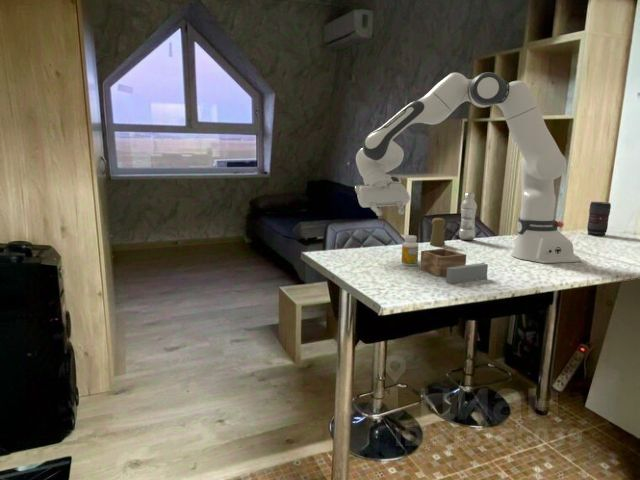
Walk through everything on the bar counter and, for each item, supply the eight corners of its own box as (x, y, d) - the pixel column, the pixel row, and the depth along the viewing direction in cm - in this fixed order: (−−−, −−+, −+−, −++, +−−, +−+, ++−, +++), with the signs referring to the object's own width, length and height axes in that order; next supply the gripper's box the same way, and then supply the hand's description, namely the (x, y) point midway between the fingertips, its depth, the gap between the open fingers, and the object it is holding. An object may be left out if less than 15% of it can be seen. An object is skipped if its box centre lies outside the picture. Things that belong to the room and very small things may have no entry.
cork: (445, 246, 187) (446, 219, 185) (429, 246, 188) (431, 219, 186) (444, 243, 193) (446, 217, 191) (429, 243, 194) (430, 216, 192)
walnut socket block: (420, 268, 154) (421, 251, 153) (444, 265, 158) (445, 248, 157) (439, 276, 145) (441, 257, 144) (465, 273, 149) (466, 254, 148)
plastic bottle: (472, 242, 196) (476, 194, 192) (456, 240, 199) (459, 193, 195) (476, 239, 201) (480, 193, 197) (460, 237, 205) (463, 192, 201)
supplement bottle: (399, 262, 163) (400, 234, 161) (414, 261, 163) (416, 234, 161) (403, 266, 157) (404, 237, 155) (419, 265, 158) (420, 237, 156)
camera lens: (608, 237, 208) (613, 203, 205) (587, 236, 210) (592, 202, 207) (604, 234, 215) (609, 201, 212) (584, 232, 218) (588, 200, 215)
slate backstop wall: (446, 282, 139) (446, 267, 138) (481, 276, 145) (483, 262, 144) (450, 284, 138) (451, 269, 137) (486, 278, 143) (487, 264, 142)
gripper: (356, 179, 168) (369, 210, 161) (403, 178, 176) (418, 207, 170) (350, 190, 173) (362, 220, 166) (396, 188, 181) (410, 217, 175)
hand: (391, 214), depth 168 cm, fingers open, 8 cm apart
